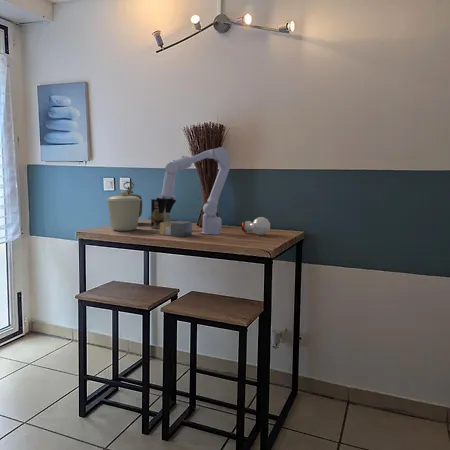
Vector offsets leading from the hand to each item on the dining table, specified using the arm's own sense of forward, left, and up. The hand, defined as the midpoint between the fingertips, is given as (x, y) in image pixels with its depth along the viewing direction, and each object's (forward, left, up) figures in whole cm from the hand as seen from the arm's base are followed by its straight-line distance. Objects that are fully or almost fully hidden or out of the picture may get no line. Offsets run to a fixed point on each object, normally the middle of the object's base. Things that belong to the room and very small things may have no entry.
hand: (164, 212), depth 215 cm
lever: (-5, +1, -11) cm, 12 cm away
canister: (+26, -4, -11) cm, 28 cm away
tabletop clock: (+37, -29, -11) cm, 48 cm away
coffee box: (+12, -19, -11) cm, 25 cm away
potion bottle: (-43, -18, -11) cm, 48 cm away
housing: (-10, +1, -11) cm, 15 cm away
